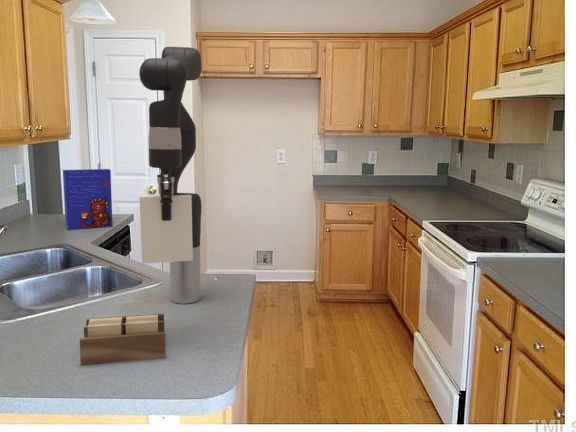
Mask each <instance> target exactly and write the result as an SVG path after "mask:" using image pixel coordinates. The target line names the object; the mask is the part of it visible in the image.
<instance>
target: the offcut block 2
mask: <svg viewBox="0 0 576 432" xmlns="http://www.w3.org/2000/svg"><path fill="white" fill-rule="evenodd" d="M146 315H147V316H136V315H131V316H132V317H127V318H126V335H129V334H143V333H156V332H158V315H151V314H146Z"/></svg>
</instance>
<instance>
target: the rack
mask: <svg viewBox="0 0 576 432" xmlns="http://www.w3.org/2000/svg"><path fill="white" fill-rule="evenodd" d="M147 315H148V314H141V315H140V314H139V315H135V316H147ZM150 315H158V332H156V333H143V334H129V335H126V318H127V317H132V316H133V315H124V316H123V315H122V316H120V317H122V329H123V335H116V336H103V337H90V338H88V328H87V327H88V324H89V321H90V319H102V318H103V317H94V318H86V322H85V323H86V324H85V325H84V326H83V337H80V338H79V356H80V366H87V365H89V366H90V365H101V364H109V363H110V364H113V363H121V362H134V361H145V360H156V359H166V331H165V313H152V314H150ZM117 317H118V316H107V317H106V316H105V318H117Z"/></svg>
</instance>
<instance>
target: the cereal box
mask: <svg viewBox="0 0 576 432" xmlns="http://www.w3.org/2000/svg"><path fill="white" fill-rule="evenodd" d="M111 175H112V172H111V169H109V168H101V169H99V168H98V169H96V168H95V169H93V168H92V169H91V168H90V169H88V168H87V169H62V178H63V180H62V181H63V182H62V183H63V200H64V218H65V220H64V221H65V229H66V230H67V231H74V230H75V231H77V230H88V229H102V228H113V227H114V226H113V205H112V202H113V201H112V176H111Z"/></svg>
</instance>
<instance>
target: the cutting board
mask: <svg viewBox="0 0 576 432" xmlns="http://www.w3.org/2000/svg"><path fill="white" fill-rule="evenodd" d="M163 198H169V196H163ZM160 200H161V195H139V215H140V216H139V217H140V218H139V220H140V241H141V263H142V264H152V263H153V264H155V263H170V262H176V261H193V242H192V198H191V195H172V205H171V220H170V221H163V220H162V205H161V204H160Z"/></svg>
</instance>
